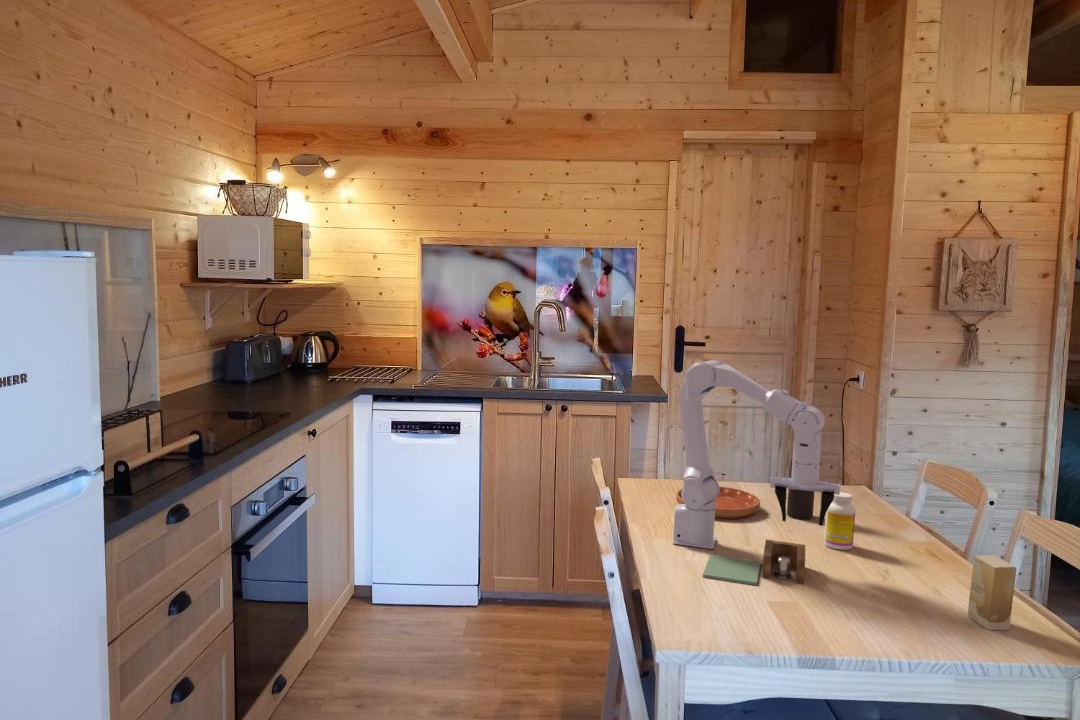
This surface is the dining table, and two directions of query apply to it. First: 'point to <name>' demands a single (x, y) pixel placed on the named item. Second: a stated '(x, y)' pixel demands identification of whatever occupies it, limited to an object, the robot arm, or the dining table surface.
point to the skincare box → (991, 592)
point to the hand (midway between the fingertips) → (802, 522)
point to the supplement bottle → (840, 523)
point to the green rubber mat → (732, 569)
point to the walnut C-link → (788, 550)
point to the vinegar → (800, 502)
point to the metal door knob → (783, 568)
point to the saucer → (731, 503)
